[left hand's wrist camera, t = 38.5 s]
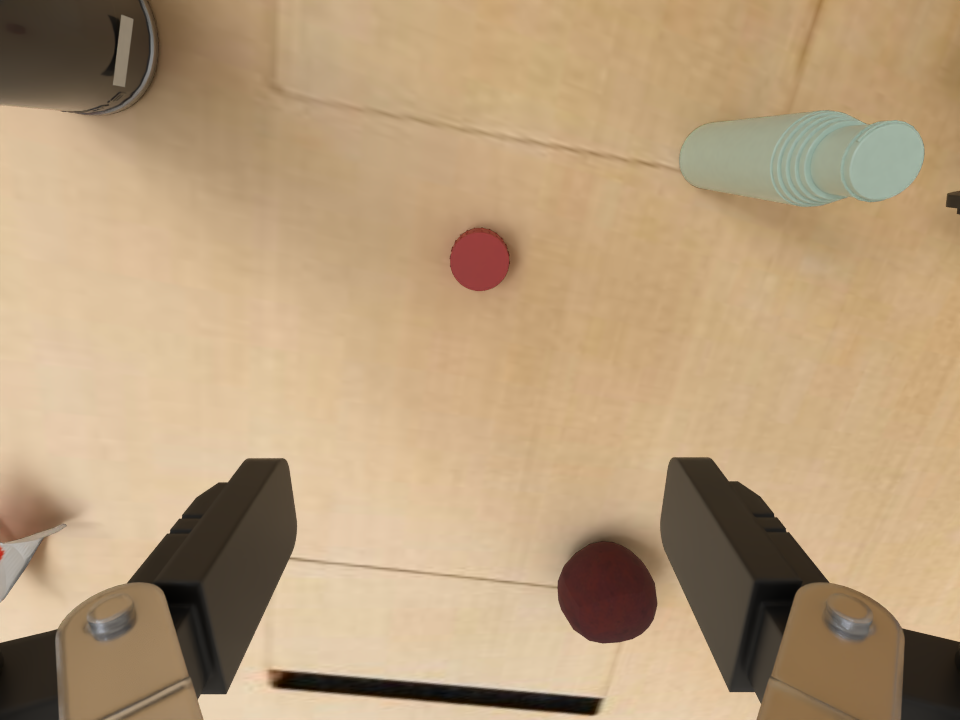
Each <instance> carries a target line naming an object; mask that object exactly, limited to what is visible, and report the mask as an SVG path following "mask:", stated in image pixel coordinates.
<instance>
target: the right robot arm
mask: <svg viewBox="0 0 960 720" xmlns="http://www.w3.org/2000/svg"><path fill="white" fill-rule="evenodd" d="M946 207H951V208H957V214H960V191H956V192H951V193H948V194H947V201H946Z"/></svg>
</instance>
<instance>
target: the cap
mask: <svg viewBox="0 0 960 720" xmlns="http://www.w3.org/2000/svg"><path fill="white" fill-rule="evenodd" d="M451 252H452V253H451V255H450V267H451V270H452V273H453V275H454V277H455V278H456V280H457V281H458V282H459V283H460V284H461V285H463V286H464V287H466V288H468V289H471V290H475V291H485V290H489V289H491V288H493V287H495V286H497V285H498V284H499V283H500V282H501V281H502V280H503V279H504V277H505V276H506V274H507V272H508V268H509V264H510V262H509V252H508V251H507V246H506V244H505V243H504V241H503V239H502V238H500V236H499V235H497V233H494V232H493V231H491V230H490V229H489V230H488V229H483V228H476V229H475V228H474V229H471V230H469V231H468V230H467V231H466V232H465V233H463V234H462V235H460V237H459V238H458V239H457V240H456V241H455V244H454V246H453V247H452V250H451Z"/></svg>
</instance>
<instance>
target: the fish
mask: <svg viewBox="0 0 960 720" xmlns="http://www.w3.org/2000/svg"><path fill="white" fill-rule="evenodd" d="M66 526H67V525H66V524H61V525H59V526H56V527H54V528H51V529H49V530H46V531H43V532H40V533H36V534H33V535H31V536H28V537H25V538H21V539H18V540H14V541H10V542H6V543H2V542H0V602H1V601H2V600H3V599H5V597H6V596H7V594H8V593H9V591H10V590H11V589H12V587H13V586H14V584H15V583H16V581H17V580H18V578H19V577H20V576H21V574H22V573H23V571H24V570H25V568H26V567H27V565H28V563H29V562H30V560H31V558H32V556H33V555H34V553H35V551H36V549H37V548H38V546H39V545H40V543H41V541H42V540H43V538H44V537H46V536H48V535H51V534H53V533H56V532H58V531H60V530H61V529H63V528H64V527H66Z"/></svg>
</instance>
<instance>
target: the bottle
mask: <svg viewBox="0 0 960 720" xmlns="http://www.w3.org/2000/svg"><path fill="white" fill-rule="evenodd" d="M923 160H924V144H923V141H922V139H921V137H920V135H919V133H918V132H917V131H916V130H915V128H914V127H913V126H911V125H909V124H908V123H906V122H902V121H897V120H894V121H882V122H876V123H873V124H870V125H867V124H866V123H863V122H861V121H859V120H857V119H855V118H853V117H851V116H849V115H847V114H845V113H841V112H835V111H829V110H824V111H813V112H804V113H795V114H786V115H777V116H768V117H759V118H750V119H740V120H731V121H722V122H713V123H708V124H704V125H702V126H700V127H698V128H697V129H695V130H694V131H693V132H692V133H691V134H690V135H689V136H688V137H687V138H686V140H685V142H684V144H683V146H682V148H681V151H680V157H679V164H680V169H681V172H682V174H683V176H684V178H685V179H686V180H687V181H688V182H689V183H690V184H691V185H693V186H695V187H698V188H702V189H707V190H713V191H718V192H724V193H729V194H735V195H740V196H746V197H751V198H757V199H762V200H768V201H773V202H778V203H784V204H789V205H795V206H801V207H811V206H821V205H825V204H828V203H831V202H834V201H837V200H841V199H844V198H847V197H854V198H856V199H857V200H861V201H866V202H876V201H882V200H885V199H888V198H891V197H893V196H895V195H897V194H899V193H901V192H902V191H903V190H905V189H906V188H907V187H908V186H909V185H910V184H911V183H912V182H913V181H914V179H915V178H916V177H917V175H918V173H919V171H920V169H921V167H922V164H923Z"/></svg>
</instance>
